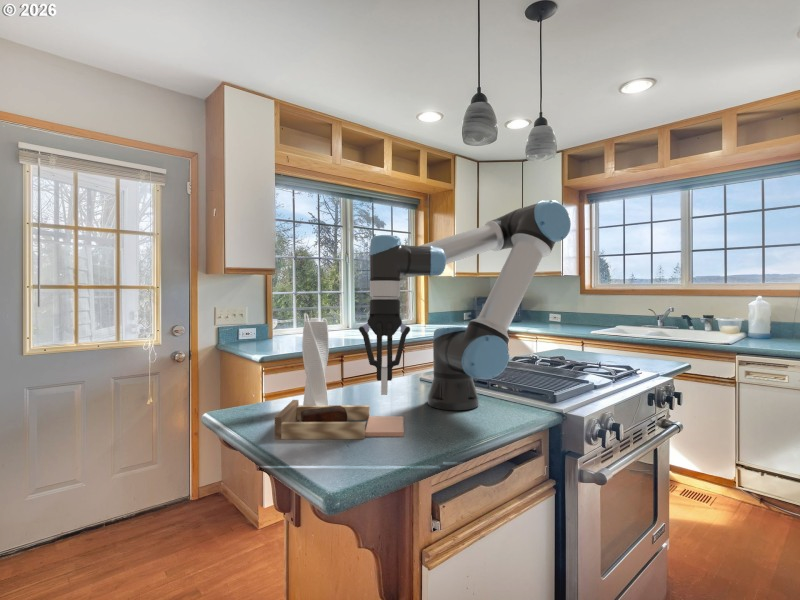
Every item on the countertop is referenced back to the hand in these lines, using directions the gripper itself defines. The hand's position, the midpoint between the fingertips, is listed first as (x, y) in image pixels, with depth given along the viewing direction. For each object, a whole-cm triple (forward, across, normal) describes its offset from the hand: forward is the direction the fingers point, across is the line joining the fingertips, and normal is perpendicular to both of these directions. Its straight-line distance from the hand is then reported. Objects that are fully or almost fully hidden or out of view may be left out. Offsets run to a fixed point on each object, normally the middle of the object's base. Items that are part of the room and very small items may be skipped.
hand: (384, 393), depth 106 cm
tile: (+9, 0, 0) cm, 9 cm away
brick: (+9, +13, -1) cm, 16 cm away
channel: (+9, +14, 0) cm, 16 cm away
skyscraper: (+9, +21, -18) cm, 29 cm away
